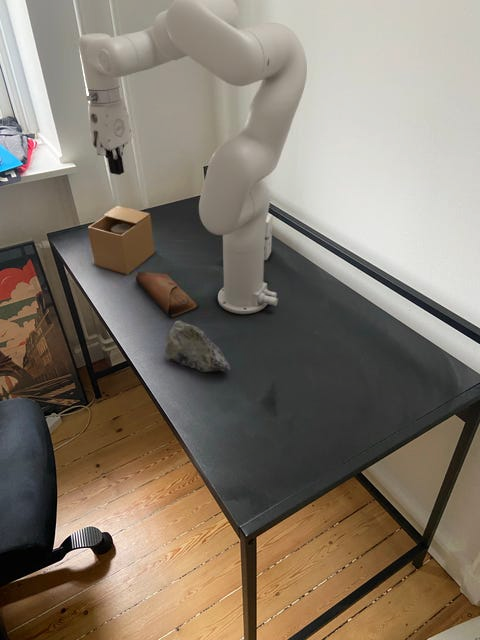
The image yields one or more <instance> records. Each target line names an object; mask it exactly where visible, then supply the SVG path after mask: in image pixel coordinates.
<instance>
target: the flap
mask: <svg viewBox="0 0 480 640" xmlns="http://www.w3.org/2000/svg"><path fill="white" fill-rule="evenodd" d="M148 215H150V216H151V213H150V212H145V211H141V210H139V209H133V208H129V207H124V206H121V205H116V206H115V207H114V208H112V209H110V210H108V211H107V212H106V213H104V214H103V217H104V216H106V217H110V218H114V219H118V220H122V221H126V222H130V223H134V224H137V223H138V222H140V221H141V220H143V219H144V218H145V217H147V216H148Z"/></svg>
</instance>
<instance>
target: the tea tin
mask: <svg viewBox="0 0 480 640" xmlns="http://www.w3.org/2000/svg"><path fill="white" fill-rule="evenodd" d="M129 229H131V227H130V226H129V225H127V224H118V225H115V226H113V227H112V229H111V230H112V233H115V234H119V235H122V234H123V233H125V232H126V231H128V230H129Z"/></svg>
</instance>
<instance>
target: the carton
mask: <svg viewBox="0 0 480 640" xmlns="http://www.w3.org/2000/svg"><path fill="white" fill-rule="evenodd" d="M118 224H127V225H129V226H130V227H131V229H129V230H128V231H126V232H125V233H123V234H122V235H119V234H115V233H112V230H111V229H112V227H113V226H115V225H118ZM87 232H88V236H89V241H90V246H91V251H92V256H93V261H94V265H95V266H97V267H100V268H104V269H108V270H110V271H114V272H117V273H120V274H121V273H122V274H124V275H129V274H130V273H131V272H133V271H134V270H135V269H136V268H138V267H139V266H141V264H143V263H144V262H145V261H146V260H148V259H149V258H150V257H152V256H153V255H155V252H156V251H155V245H154V244H155V243H154V235H153V226H152V218H151V214H150V215H148V216H147V217H145V218H144V219H143V220H141V221H140V222H138V223H137V224H134V223H130V222H126V221H122V220H118V219H114V218H110V217H106V216H103V217H101V218H100V219H98V220H97V221H94V223H92V224H90V225H89V226H87Z"/></svg>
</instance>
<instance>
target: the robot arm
mask: <svg viewBox="0 0 480 640" xmlns="http://www.w3.org/2000/svg"><path fill="white" fill-rule="evenodd" d="M239 22H240V11H239V8H238V5H237V3H236V2H235V0H173V1H172V2H171V4H170V5H169V7H168V8H167V9H166V10H164V11H161V12H159V13H158V14H157V15H156V17H155V18H154V21H153V25H152V26H150V27H147V28H145V29H142V30H140V31H136V32H130V33H124V34H121V35H116V36H112V37H111V35H109V34H108V33H101V32H99V33H98V32H95V33H94V32H93V33H87V34H83V35H81V36H80V37H78V41H77V46H78V52H79V56H80V62H81V67H82V73H83V79H84V85H85V91H86V99H87V101H88V104H87V105H88V107H87V109H88V111H87V112H88V124H89V131H90V138H91V142H92V146H93V147H94V148H95V149H96V155H97V156H101V157H102V156H103V157H105V158H106V159H107V162H108V168H109V169H108V170H109V173H110V174H113V175H118V176H120V175H122V174H124V173H125V169H124V162H123V156H124V148H125V146H127V145H128V143H129V142H130V141H131V140H132V138H133V132H132V126H131V121H130V116H129V112H128V108H127V105H126V102H125V100H124V98H123V97H122V92H121V84H120V78H122V77H127V76H130V75H132V74H137V73H140V72H144V71H148V70H150V69H154V68H157V67H159V66H161V65H165V64H167V63H170V62H172V61H178V60H179V59H180V60H181V59H183V58H185V57H189V58H190V59H191V60H193V61H194V62H195V63H197V64H198V65H200V66H201V67H203V68H204V69H206V70H207V71H208V72H210V73H211V74H213V75H214V76H216V77H217V78H218V79H220V80H221V81H223V82H225V83H226V84H228V85H232V86H235V87H244V86H249V85H252V84H254V83H257V82H260V81H261V83H260V85H259V87H258V89H257V91H256V93H255V94H254V96H253V98H252V100H251V102H250V105H249V108H248V113H247V116H246V119H245V121H244V126H243V127H242V129H241V131H240V132H239V133H238V134H237V135H235V136H234V137H231V138H230V139H228V140H226V141H224V142H223V143H220V145H219V146H218V147H217V148H216V149H215V150H214V152H213V154H212V155H211V157H210V160H209V162H208V165H207V169H206V174H205V177H204V182H203V186H202V189H201V193H200V198H199V201H198V202H199V203H198V214H199V218H200V221H201V224H202V225H203V227H204V229H206V231H208V232H209V233H211V234H213V235H216V236H222V260H223V261H222V264H223V269H222V270H223V287H222V288H221V289H220V290H219V291H218V294H217V301H218V304H219V306H220V307H221V308H222V309H224V310H225V311H227V312H230V313H233V314H239V315H248V314H254V313H258V312H260V311H261V310H263V309H265V308H266V306H268V305H270V306H273V307H276V306H277V305H278V302H279V299H278V292H275V291H270V290H269V289H268V283H266V282H265V281H264V273H265V272H264V271H265V260H264V245H265V227H266V220H267V215H268V214H269V210H270V209H269V208H270V203H271V194H270V188H269V185H268V183H267V182H266V180H265V178H266V177H268V176H269V175H271V174H272V173H273V172H274V170H276V168H277V166H278V164H279V161H280V158H281V155H282V152H283V150H284V147H285V144H286V142H287V140H288V139H287V138H288V136H289V134H290V130H291V127H292V124H293V121H294V118H295V115H296V112H297V110H298V108H299V105H300V102H301V100H302V97H303V94H304V90H305V87H306V83H307V76H308V63H307V56H306V52H305V49H304V46H303V43H302V42H301V41H300V39H299V37H298V35H297V34H296V33H295V32H294V31H293V30H292V29H291V27H288V26H287V25H285V24H282V23H279V22H266V23H260V24H256V25H252V26H249V27H245V28H241V29H238V26H239Z"/></svg>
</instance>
